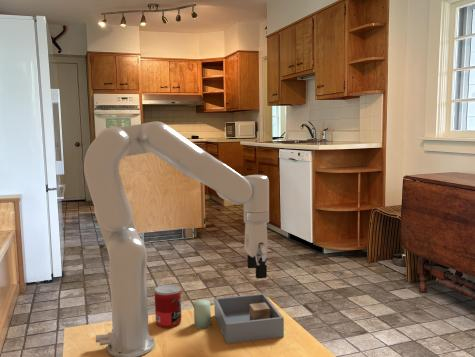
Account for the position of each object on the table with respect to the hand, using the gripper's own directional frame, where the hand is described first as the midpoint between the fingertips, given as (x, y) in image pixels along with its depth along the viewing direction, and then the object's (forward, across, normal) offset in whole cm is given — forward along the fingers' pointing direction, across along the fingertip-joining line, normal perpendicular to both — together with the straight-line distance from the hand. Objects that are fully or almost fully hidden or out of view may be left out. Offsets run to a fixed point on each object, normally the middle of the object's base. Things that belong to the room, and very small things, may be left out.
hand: (256, 272), depth 131 cm
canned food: (+16, -8, -26) cm, 32 cm away
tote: (+16, 0, -3) cm, 16 cm away
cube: (+16, 0, +1) cm, 16 cm away
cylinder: (+16, -4, -16) cm, 23 cm away
